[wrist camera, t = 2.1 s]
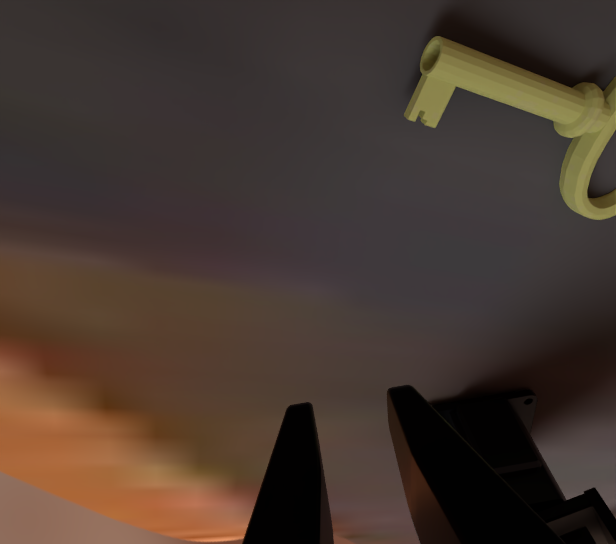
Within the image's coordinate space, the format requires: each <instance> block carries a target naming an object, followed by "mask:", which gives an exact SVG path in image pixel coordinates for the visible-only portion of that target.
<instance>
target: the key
mask: <svg viewBox="0 0 616 544" xmlns="http://www.w3.org/2000/svg"><path fill="white" fill-rule="evenodd" d="M420 71H421V73H422V76H421V79H420V81H419V83H418V85H417V87H416V89H415V92H414V94H413V96H412V98H411V100H410V103H409V105H408V107H407V109H406V111H405V113H404V116H405V117H406V118H407V119H408V120H411V121H414V122H415V120H416V118H417V116H418V115H419V116H420V117H421V120H420V121H421V122H423V123H424V124H425V125H427V126H430V127H433V128H436V126H437V124H438V122H439V120H440V118H441V116H442V114H443V112H444V109H445V107H446V105H447V103H448V101H449V99H450V97H451V95H452V93H453V91H454V89H455V87H456V86H457V87H460V88H462V89H465V90H468V91H471V92H474V93H477V94H479V95H482V96H485V97H488V98H491V99H493V100H496V101H499V102H502V103H505V104H508V105H510V106H513V107H516V108H519V109H522V110H524V111H527V112H530V113H533V114H536V115H539V116H541V117H544V118H547V119H550V120H553V124H554V129H555V130H556V131H557V132H558V133H559V134H560V135H561V136H565V137H568V138H573V137H574V138H573V140H572V142H571V144H570V146H569V148H568V150H567V153H566V155H565V158H564V161H563V164H562V169H561V175H560V182H559V186H560V191H561V195H562V197H563V199H564V201H565V203H566V204H567V205H568V206H569V207H570V208H571V209H572V210H573V211H575V212H577V213H579V214H581V215H583V216H585V217H588V218H590V219H596V220H601V219H606V218H610V217H612V216H615V215H616V189H615V190H613V191H612V192H610V193H609V194H606V195H604V196H601V197H597V198H588V196H587V189H588V185H589V181H590V177H591V174H592V172H593V169H594V167H595V164H596V162H597V160H598V158H599V156H600V155H601V153H602V151H603V149H604V148H605V146H606V144H607V142H608V141H609V139H610V138H611V136H612V135H613V133H614V131H615V130H616V76H615V77H614V79H613V80H612V81H611V82H610V84H609V85H608V86H607V87H606V89H605V90H604V91H603V92H602V90H601V89H600V88H599V87H598V86H597V85H596V84H594V83H587V82H582V83H579V84H577V85H576V86H574V87H573V88H570V87H568V86H565V85H563V84H560V83H558V82H555V81H553V80H550V79H547V78H545V77H542V76H540V75H537V74H535V73H532V72H530V71H527V70H525V69H522V68H519V67H517V66H514V65H512V64H509V63H507V62H504V61H502V60H499V59H497V58H494V57H491V56H489V55H486V54H484V53H481V52H479V51H476V50H474V49H471V48H469V47H466V46H463V45H461V44H458V43H456V42H453V41H451V40H448V39H446V38H443V37H441V36H436V37H434V38H432V39H431V40H430V42H429V43H428V44H427V46H426V48H425V50H424V52H423V55H422V57H421V62H420Z"/></svg>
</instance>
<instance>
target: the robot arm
mask: <svg viewBox="0 0 616 544" xmlns="http://www.w3.org/2000/svg"><path fill="white" fill-rule="evenodd" d="M536 404H537V397H536V395H535V394H534V392H533V391H532V390H523V391H517V392H511V393H506V394H500V395H494V396H488V397H483V398H477V399H471V400H465V401H460V402H454V403H448V404H442V405H437V406H431V405H430V404H429V403H428V402H427V401H426V400H425V399H424V398H423V397H422V395H421V394H420V393H419V392H418V391H417V390H416V389H415V388H413V387H412V386H410V385H404V386H398V387H392V388H389V389H388V391H387V407H388V423H389V428H390V433H391V437H392V441H393V445H394V450H395V454H396V458H397V462H398V466H399V470H400V475H401V479H402V483H403V487H404V491H405V495H406V499H407V503H408V507H409V511H410V514H411V518H412V521H413V524H414V527H415V530H416V533H417V536H418V538H419V541H420V544H616V519H615V517H614V516H613V514H612V513H611V511H610V510H609V508H608V506H607V505H606V503H605V502H604V500H603V499H602V497H601V496H600V494H599V493H598V491H597V490H596V488H595V487H594V488H591V489H589V490H586V491H584V494H582V495H579V496H577V497H574V498H571V499H569V500H566V498H565V496H564V495H563V493H562V491H561V489H560V487H559V486H558V484H557V482H556V480H555V478H554V477H553V475H552V473H551V471H550V470H549V468H548V466H547V464H546V462H545V461H544V459H543V457H542V455H541V453H540V452H539V450H538V448H537V446H536V445H535V443H534V441H533V439H532V437H531V436H530V432H531V427H532V422H533V418H534V413H535V409H536ZM242 544H334V541H333V529H332V521H331V514H330V508H329V502H328V495H327V489H326V483H325V477H324V470H323V464H322V458H321V452H320V445H319V439H318V433H317V428H316V422H315V417H314V411H313V406H312V404H311V403H309V402H306V403H300V404H294V405H290V406H289V407H288V408H287V410H286V412H285V415H284V418H283V422H282V425H281V428H280V431H279V434H278V437H277V440H276V443H275V446H274V449H273V452H272V455H271V458H270V461H269V464H268V467H267V470H266V473H265V476H264V479H263V482H262V485H261V488H260V491H259V494H258V497H257V500H256V503H255V506H254V509H253V512H252V515H251V518H250V521H249V524H248V527H247V530H246V533H245V536H244V539H243V543H242Z"/></svg>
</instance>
